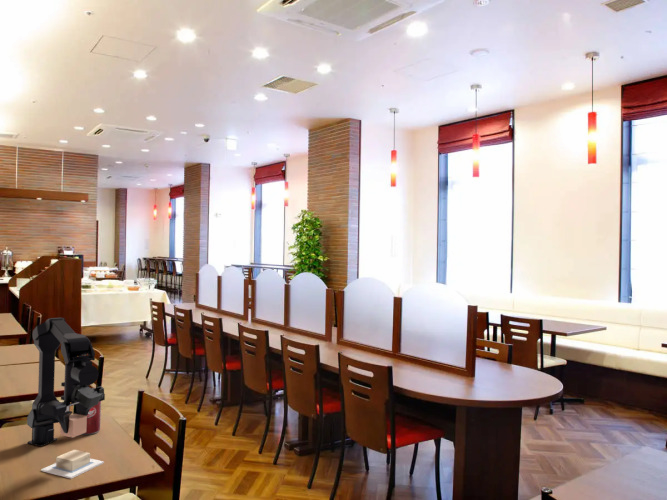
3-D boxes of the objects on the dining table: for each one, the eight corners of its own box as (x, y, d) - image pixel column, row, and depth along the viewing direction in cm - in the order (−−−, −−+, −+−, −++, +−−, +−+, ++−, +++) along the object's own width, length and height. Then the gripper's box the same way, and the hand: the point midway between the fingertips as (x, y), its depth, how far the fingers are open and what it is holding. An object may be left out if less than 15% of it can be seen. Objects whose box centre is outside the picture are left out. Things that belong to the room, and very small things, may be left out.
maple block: (56, 467, 153) (56, 457, 153) (74, 459, 159) (74, 449, 159) (72, 471, 151) (72, 461, 151) (89, 462, 157) (90, 453, 157)
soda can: (91, 436, 180) (92, 402, 180) (73, 434, 181) (74, 400, 181) (104, 429, 187) (105, 396, 187) (87, 427, 188) (88, 395, 188)
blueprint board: (41, 470, 151) (41, 468, 151) (74, 456, 163) (74, 454, 163) (71, 478, 147) (71, 476, 147) (103, 463, 158) (103, 461, 158)
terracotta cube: (60, 434, 153) (60, 418, 153) (74, 429, 158) (74, 413, 158) (72, 437, 152) (73, 420, 152) (86, 432, 156) (86, 415, 156)
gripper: (68, 389, 143) (67, 444, 143) (118, 375, 161) (117, 424, 161) (40, 384, 147) (38, 438, 147) (92, 371, 165) (90, 419, 165)
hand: (73, 430), depth 155 cm, fingers closed on terracotta cube, 5 cm apart
